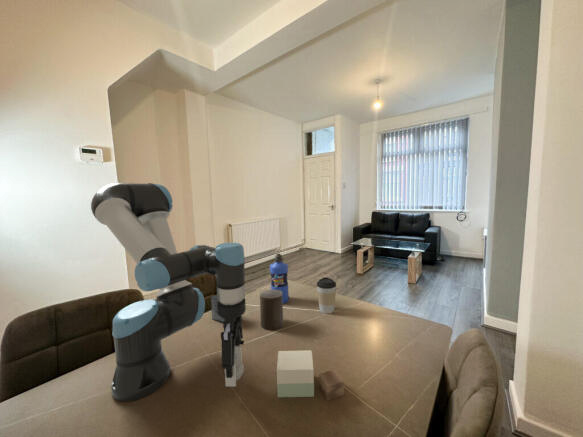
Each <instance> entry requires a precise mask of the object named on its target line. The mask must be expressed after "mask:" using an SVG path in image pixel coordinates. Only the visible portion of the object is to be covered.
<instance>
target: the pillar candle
mask: <svg viewBox="0 0 583 437" xmlns="http://www.w3.org/2000/svg"><path fill="white" fill-rule="evenodd" d="M259 306H260V315H259V316H260V326H261V328H263V329H264V330H269V331H274V330H278V329H280V328H282V327H283V326H284V304H283V297H282V292H281V291H279V290H271V289H265V290H263V291H261V292H260V293H259Z"/></svg>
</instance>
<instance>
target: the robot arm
mask: <svg viewBox="0 0 583 437" xmlns="http://www.w3.org/2000/svg"><path fill="white" fill-rule="evenodd" d="M172 209H173V197H172V195H171V193H170V191H169V189H168V188H167V187H166V186H165V185H162V184H158V183H150V182H148V183H134V182H133V183H132V182H131V183H129V182H128V183H127V182H125V183H122V182H115V183H109V184H107V185H105V186H103V187H101V188H100V189H98V191H97V192H96V193H95V194H94V196H93V197H92V199H91V203H90V210H91V213H92V216H94V218H95V219H96V221H98V222H99V223H100V224H102V225H103V226H104V225H105V226H106V227H107V228H108V229H109V230H110V231H111V233H112V234H113V235H114V236H115V239H117V241H118V242H119V243H120V244H121V246H122V247H123V248H124V249H125V251H126V252H127V253H128V254H129V256H130V257H131V258H132V260H133V261H134V262H135V264H136V265H135V267H134V278H135V281H136V284H137V286H138V288H139V289H140V290H142V291H143V292H146V293H148V292H153V291H156V290H159V291H158V292H157V295H155V297H156V299H151V298H150V299H144V300H139V301H136V302H133V303H131V304H129V305H127V306H125V307H123V308H122V309H120V310H119V311H118V312H116V314H115V316H114V317H113V319H112V334H111V335H112V337H113V344H114V352H115V353H114V354H115V362H116V366H115V370H114V374H113V377H112V381H111V385H110V388H111V395H112V397H113V398H114V400H117V401H120V402H131V401H132V402H133V401H136V400H138V399H142V398H144V397H147V396H149V395H150V394H152V393H154V392H155V391H156V390H158V389H160V388H161V387H162V386H163V385H165V382H166V381H167V380H168V379H169V377H170V374H171V368H170V366H171V365H170V361H169V360H168V359H167V357H166V355H165V353H164V350H163V349H162V348H163V347H162V340H164V339H166V338H168V337H171V336H172V335H174V334H176V333H178V332H180V331H182V330H184V329H186V328H188V327H191V326H192V325H193V324H195V323H197V322H198V321H200V320H201V319H202V318H203V316H204V313H205V308H206V304H205V303H206V302H205V297H204V295H203V292H202V291H201V290H200V289H199V288H198V287H194V286H193V282H189V281H188V280H190V279H193V278H197V277H199V276H201V275H202V276H203V275H205V274H208V275H212V276H215V277H216V295H217V300H218V315H219V316H220V317H222V318H224V319H225V321H224V323H222V324H223V325H222V327H223V331H221V332H220V340H221V341H220V342H221V363H220V366H221V369H222V370H224V380H225V387H237V380H236V366H235V362H234V355H236V354H237V355H238V356H239V360H240V363H242V362H243V360H242V346H243V345H244V344H245V341H244V340H243V337H244V336H243V335H244V334H243V317H242V316H243V315H244V314H245V312H246V308H247V307H246V306H247V305H246V304H247V303H246V298H245V297H246V291H248V288H247V287H246V286H245V285H246V284H245V283H246V281H245V280H246V278H245V274H246V272H245V271H246V270H245V267H246V266H245V263H246V262H245V261H246V258H245V250H244V249H245V248H244V246H243V245H242V244H241V243H240V242H239V243H238V242H223V243H219V244H217V245H216V247H213V246H210V245H206V244H202V245H201V244H196V245H194V246H192V247H191V248H190V249H189V250H185V251H181V252H178V250H177V248H176V245H175V241H174V238H173V235H172V232H171V229H170V225H169V222H168V219H169V217H170V212H172ZM166 383H167V382H166Z"/></svg>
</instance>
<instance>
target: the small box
mask: <svg viewBox="0 0 583 437" xmlns="http://www.w3.org/2000/svg"><path fill="white" fill-rule="evenodd" d="M210 302H211V303H210V304H211V319H212V320H213V321H216V322H218V323H220V324H223V323H224V321H225V319H224V318H222V317H220V316H219V315H218V300H217V294H216V295H213V296H211V297H210Z"/></svg>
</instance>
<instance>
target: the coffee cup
mask: <svg viewBox="0 0 583 437" xmlns="http://www.w3.org/2000/svg"><path fill="white" fill-rule="evenodd" d="M316 287H317V300H318V309H319V312H320V311H321V312H320V313H322V314H325V313H330V314H333V313H334V312H335V303H336V292H337V291H336V287H337V283H336V281H335V280H334V279H332V278H329V277H328V276H327V277H322V278H320V279H319V280H318V281H317V282H316ZM333 311H334V312H333ZM332 312H333V313H332Z"/></svg>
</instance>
